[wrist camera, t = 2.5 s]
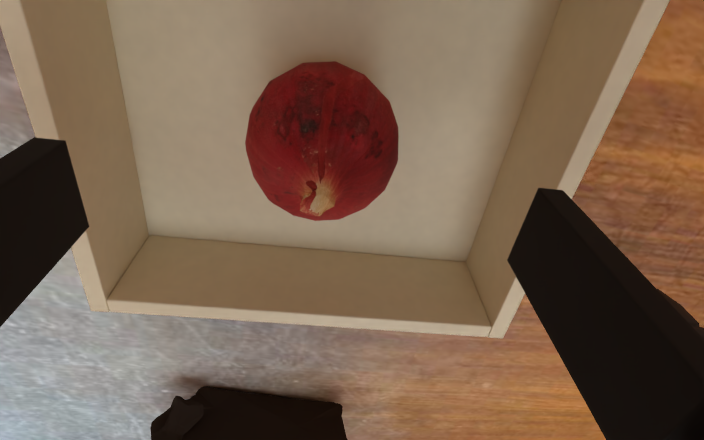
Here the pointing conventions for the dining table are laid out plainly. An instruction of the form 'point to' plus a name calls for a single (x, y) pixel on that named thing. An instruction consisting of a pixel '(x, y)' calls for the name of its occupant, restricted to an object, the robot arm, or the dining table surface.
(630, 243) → the dining table surface
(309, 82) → the onion
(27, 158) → the robot arm
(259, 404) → the lantern
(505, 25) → the beige open rectangular box
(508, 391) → the dining table surface
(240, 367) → the dining table surface
